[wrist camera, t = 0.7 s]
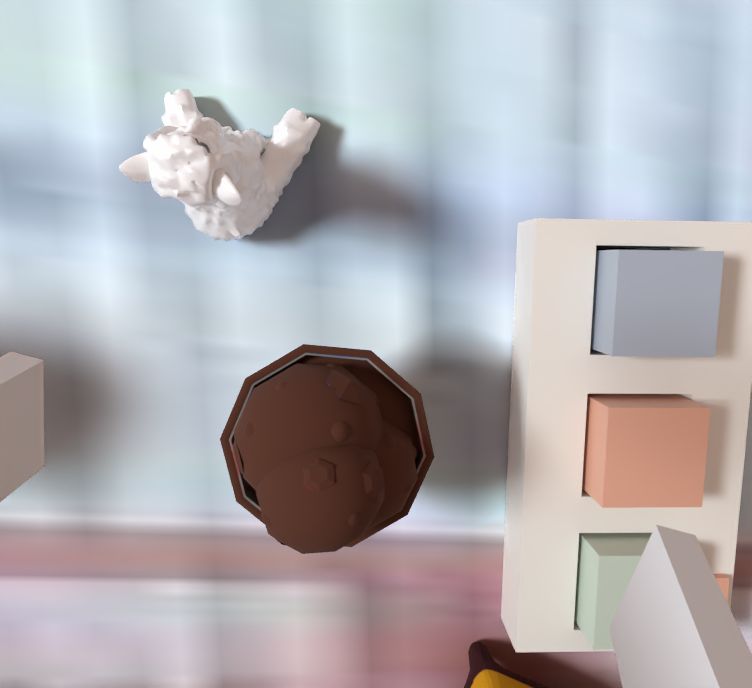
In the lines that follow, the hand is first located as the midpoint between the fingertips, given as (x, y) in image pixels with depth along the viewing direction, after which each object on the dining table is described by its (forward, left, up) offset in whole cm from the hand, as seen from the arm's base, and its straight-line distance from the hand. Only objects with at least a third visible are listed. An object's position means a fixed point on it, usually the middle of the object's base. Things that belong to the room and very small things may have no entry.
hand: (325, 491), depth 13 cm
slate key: (+3, -19, -26) cm, 32 cm away
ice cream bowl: (-5, 0, -29) cm, 29 cm away
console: (-6, -19, -28) cm, 34 cm away
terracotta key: (-6, -19, -26) cm, 33 cm away
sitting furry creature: (+10, +6, -29) cm, 31 cm away
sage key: (-15, -18, -26) cm, 36 cm away
